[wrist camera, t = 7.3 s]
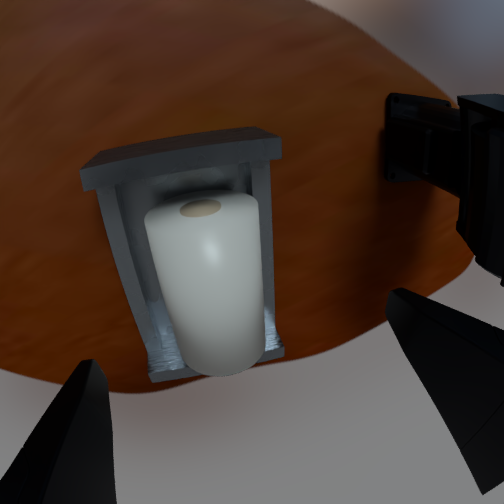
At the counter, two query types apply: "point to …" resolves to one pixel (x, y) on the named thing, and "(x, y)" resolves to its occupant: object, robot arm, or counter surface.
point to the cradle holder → (168, 186)
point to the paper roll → (211, 277)
